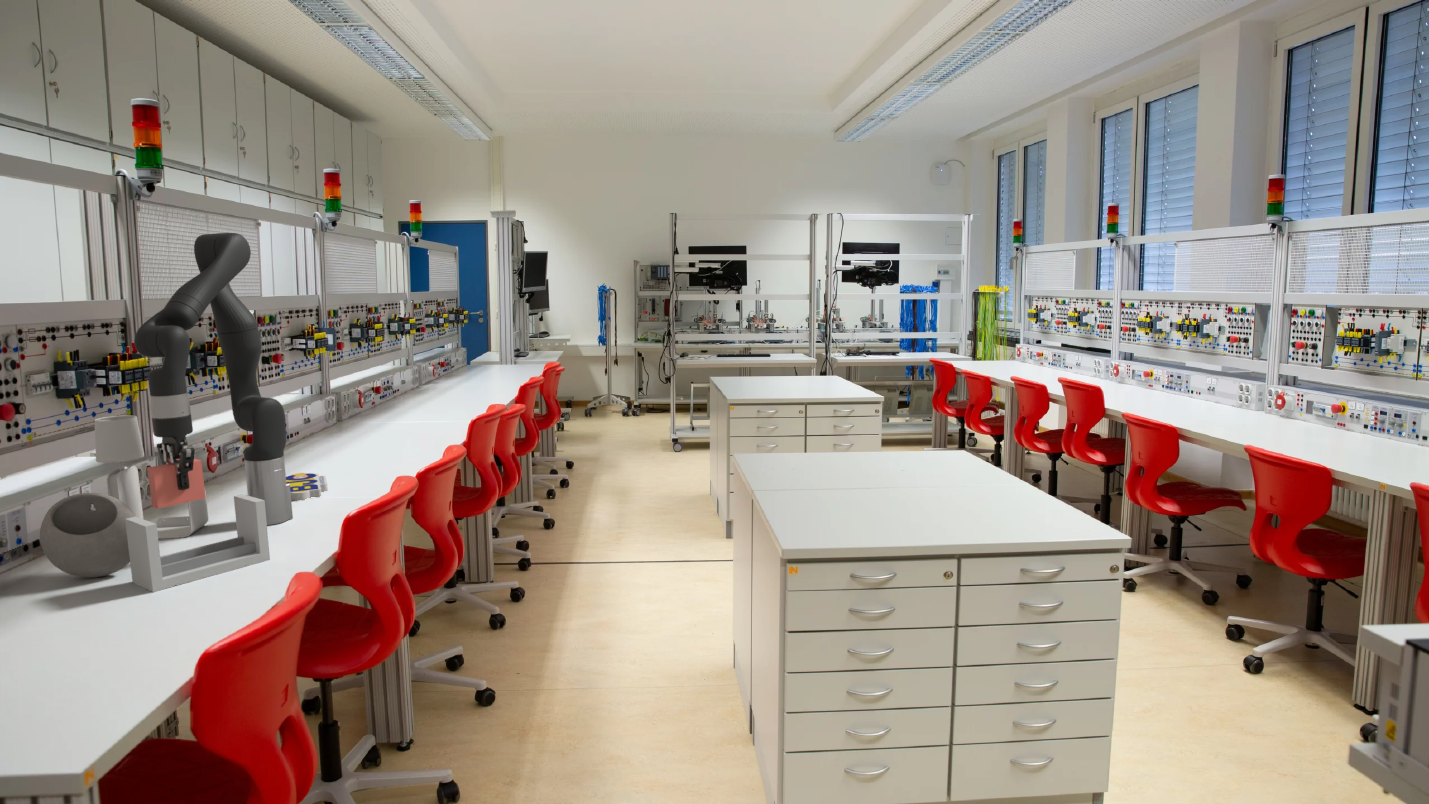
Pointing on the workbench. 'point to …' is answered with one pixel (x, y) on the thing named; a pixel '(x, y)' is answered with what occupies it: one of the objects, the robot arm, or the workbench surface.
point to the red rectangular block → (174, 485)
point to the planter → (86, 535)
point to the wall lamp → (124, 443)
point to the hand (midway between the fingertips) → (180, 487)
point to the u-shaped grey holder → (198, 549)
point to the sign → (306, 485)
